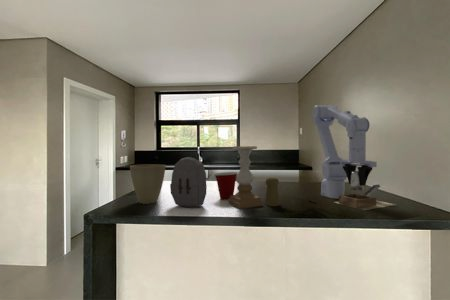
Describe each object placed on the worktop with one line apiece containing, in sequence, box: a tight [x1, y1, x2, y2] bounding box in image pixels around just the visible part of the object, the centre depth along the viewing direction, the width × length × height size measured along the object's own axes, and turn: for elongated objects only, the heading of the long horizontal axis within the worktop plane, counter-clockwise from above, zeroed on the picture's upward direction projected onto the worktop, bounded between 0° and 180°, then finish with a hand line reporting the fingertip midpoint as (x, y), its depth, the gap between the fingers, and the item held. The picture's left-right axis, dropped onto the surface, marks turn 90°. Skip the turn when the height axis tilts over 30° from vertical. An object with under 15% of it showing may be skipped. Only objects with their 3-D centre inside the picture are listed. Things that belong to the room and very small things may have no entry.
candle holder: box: [227, 145, 264, 210], centre depth 107 cm, size 11×11×24 cm
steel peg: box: [350, 170, 364, 192], centre depth 101 cm, size 4×4×7 cm
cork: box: [264, 177, 281, 207], centre depth 107 cm, size 6×6×11 cm
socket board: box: [333, 193, 397, 211], centre depth 103 cm, size 14×18×4 cm
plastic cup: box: [213, 171, 239, 201], centre depth 119 cm, size 11×11×12 cm
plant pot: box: [129, 163, 166, 205], centre depth 114 cm, size 15×15×16 cm
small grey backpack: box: [169, 156, 208, 208], centre depth 104 cm, size 15×8×20 cm, turn 72°
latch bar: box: [362, 184, 381, 197], centre depth 106 cm, size 9×3×1 cm
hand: (356, 184), depth 101 cm, fingers closed on steel peg, 4 cm apart
